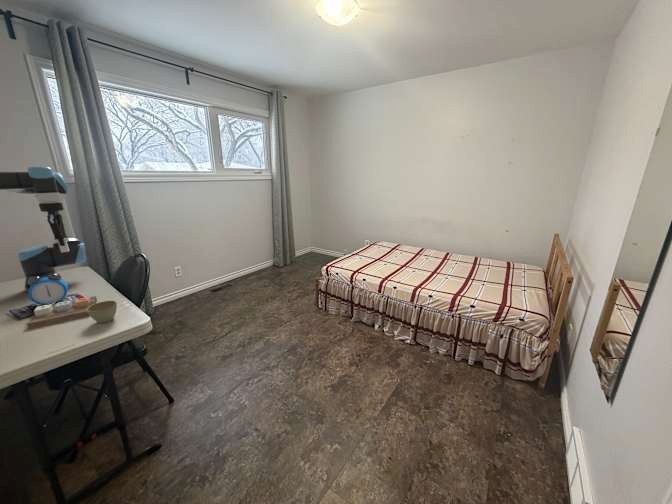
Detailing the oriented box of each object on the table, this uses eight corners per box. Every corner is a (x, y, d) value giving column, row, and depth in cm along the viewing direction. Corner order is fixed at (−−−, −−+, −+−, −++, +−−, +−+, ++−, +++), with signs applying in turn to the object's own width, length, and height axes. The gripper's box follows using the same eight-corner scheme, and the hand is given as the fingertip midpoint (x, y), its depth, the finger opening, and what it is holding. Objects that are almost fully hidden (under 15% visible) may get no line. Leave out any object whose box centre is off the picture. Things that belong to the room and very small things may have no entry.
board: (41, 311, 127) (40, 306, 126) (97, 300, 137) (95, 295, 137) (28, 328, 112) (26, 323, 112) (91, 314, 123) (90, 310, 122)
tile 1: (39, 312, 121) (37, 306, 120) (53, 309, 124) (51, 303, 123) (36, 316, 118) (33, 310, 117) (50, 313, 120) (48, 307, 119)
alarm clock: (33, 309, 128) (22, 280, 124) (34, 304, 133) (24, 276, 128) (70, 300, 137) (61, 273, 132) (71, 296, 141) (62, 270, 137)
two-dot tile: (59, 308, 125) (57, 302, 124) (72, 305, 127) (70, 299, 126) (56, 312, 121) (54, 306, 120) (70, 309, 124) (68, 303, 123)
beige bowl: (96, 317, 121) (91, 303, 119) (123, 312, 125) (119, 298, 123) (86, 328, 112) (82, 313, 110) (116, 323, 116) (112, 308, 114)
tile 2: (78, 304, 128) (76, 298, 127) (91, 301, 131) (89, 296, 130) (76, 308, 125) (74, 302, 124) (89, 305, 127) (87, 299, 126)
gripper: (42, 201, 126) (58, 249, 132) (33, 204, 115) (50, 256, 122) (64, 200, 130) (78, 247, 136) (57, 202, 119) (72, 253, 126)
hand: (65, 251), depth 129 cm, fingers closed
